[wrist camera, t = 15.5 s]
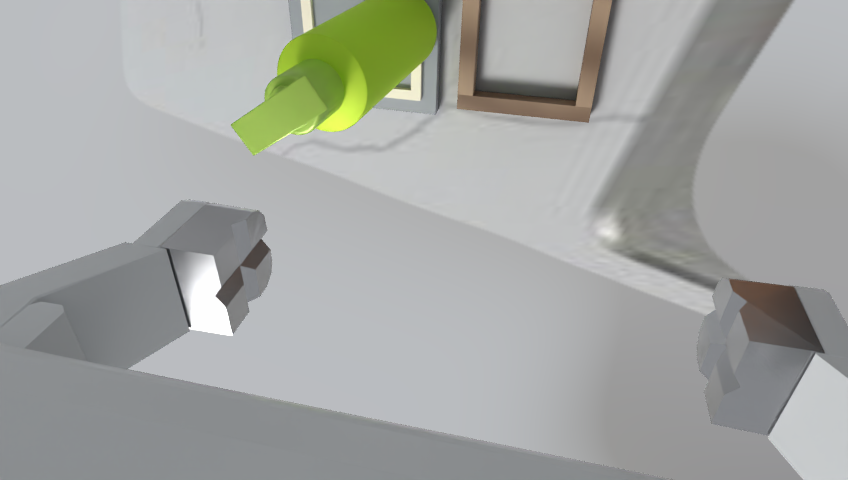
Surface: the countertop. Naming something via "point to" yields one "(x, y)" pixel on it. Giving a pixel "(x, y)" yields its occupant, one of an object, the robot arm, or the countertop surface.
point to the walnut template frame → (530, 104)
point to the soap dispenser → (340, 70)
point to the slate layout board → (415, 93)
